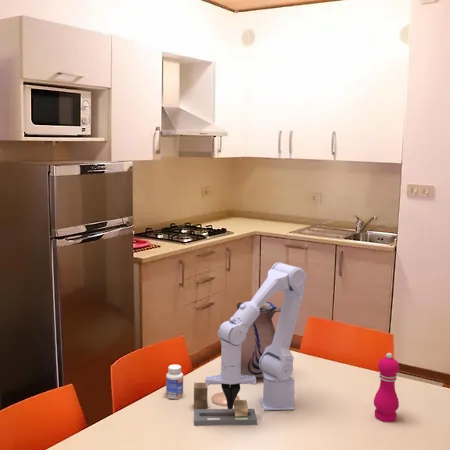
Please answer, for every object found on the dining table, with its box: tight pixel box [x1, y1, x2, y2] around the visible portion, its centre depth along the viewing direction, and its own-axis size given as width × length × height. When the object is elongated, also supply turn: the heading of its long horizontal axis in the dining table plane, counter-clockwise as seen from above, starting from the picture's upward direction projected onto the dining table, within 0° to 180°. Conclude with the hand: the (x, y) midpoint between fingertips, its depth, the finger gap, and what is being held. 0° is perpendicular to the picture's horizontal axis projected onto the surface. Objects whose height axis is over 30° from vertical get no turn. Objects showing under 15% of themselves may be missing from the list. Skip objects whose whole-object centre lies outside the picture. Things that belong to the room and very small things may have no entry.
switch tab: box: [233, 399, 249, 417], centre depth 167 cm, size 4×4×3 cm
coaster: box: [210, 391, 241, 407], centre depth 180 cm, size 9×9×1 cm
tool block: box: [193, 382, 209, 410], centre depth 174 cm, size 4×4×7 cm
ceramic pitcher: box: [236, 301, 282, 379], centre depth 199 cm, size 18×21×25 cm
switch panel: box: [193, 408, 258, 426], centre depth 167 cm, size 18×7×2 cm, turn 94°
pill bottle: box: [165, 364, 184, 400], centre depth 181 cm, size 5×5×10 cm
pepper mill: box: [373, 352, 400, 423], centre depth 169 cm, size 7×7×20 cm
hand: (230, 407), depth 167 cm, fingers closed
